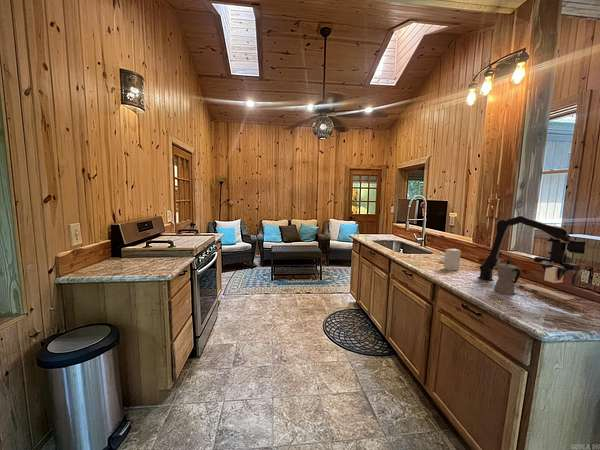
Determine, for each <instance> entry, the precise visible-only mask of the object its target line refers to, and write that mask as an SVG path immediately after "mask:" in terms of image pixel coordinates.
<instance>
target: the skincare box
mask: <svg viewBox="0 0 600 450" xmlns="http://www.w3.org/2000/svg"><path fill="white" fill-rule="evenodd" d="M461 254H462V250H460V249H457V248H446V249H445V254H444V256H445V262H444V263H443V269H445V270H447V271H448V272H449V271H459V270H460V262H461Z"/></svg>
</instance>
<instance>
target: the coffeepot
mask: <svg viewBox="0 0 600 450" xmlns="http://www.w3.org/2000/svg"><path fill="white" fill-rule="evenodd" d="M505 261H506V262H505V263H499V264H497V267H496V268H497V269H496V271H497V277H498V278H497V279H496V283H495V286H494V288H493V290H494V291H495V292H496V293H498V294H502V295H507V296H512V295H515V286H514V283H517V282H518V280H519V278H520V276H521V271H520V269H519V267H518V266H515V265H513V264H511V263H510V262H511V261H510V260H505Z"/></svg>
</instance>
